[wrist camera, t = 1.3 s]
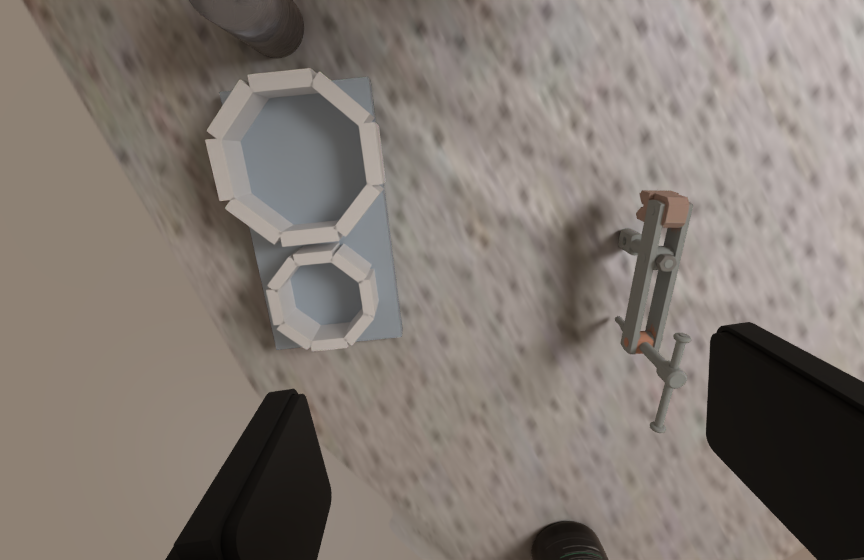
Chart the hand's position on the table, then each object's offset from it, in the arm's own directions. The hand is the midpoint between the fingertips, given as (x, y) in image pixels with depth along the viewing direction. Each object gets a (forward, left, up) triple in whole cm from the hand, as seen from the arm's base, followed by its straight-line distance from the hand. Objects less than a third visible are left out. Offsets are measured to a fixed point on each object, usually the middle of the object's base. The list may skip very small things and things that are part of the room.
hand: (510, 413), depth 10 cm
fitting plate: (-2, -9, -25) cm, 26 cm away
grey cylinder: (-15, -10, -25) cm, 31 cm away
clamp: (+5, +14, -25) cm, 29 cm away
